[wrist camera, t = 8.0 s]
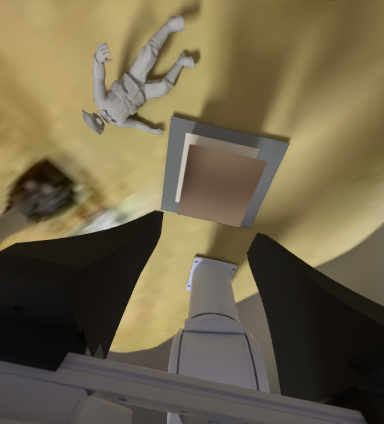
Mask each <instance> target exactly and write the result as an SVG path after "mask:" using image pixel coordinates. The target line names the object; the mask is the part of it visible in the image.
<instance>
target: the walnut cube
mask: <svg viewBox="0 0 384 424" xmlns="http://www.w3.org/2000/svg"><path fill="white" fill-rule="evenodd" d="M267 162H268V161H263V160H259V159H254V158H250V157H245V156H241V155H237V154H232V153H228V152H223V151H219V150H214V149H210V148H206V147H201V146H197V145H192V144H189V149H188V155H187V161H186V167H185V172H184V178H183V184H182V190H181V196H180V201H179V207H178V213H177V214H179V215H184V216H189V217H193V218H198V219H202V220H207V221H212V222H216V223H221V224H225V225H230V226H235V227H240V225H241V223H242V220H243V218H244V216H245V213H246V211H247V209H248V206H249V204H250V201H251V199H252V197H253V194H254V192H255V190H256V187H257V185H258V183H259V180H260V178H261V176H262V173H263V171H264V169H265V166H266V164H267Z"/></svg>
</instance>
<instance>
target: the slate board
mask: <svg viewBox="0 0 384 424" xmlns="http://www.w3.org/2000/svg"><path fill="white" fill-rule="evenodd" d="M186 133H190V134H194V135H199V136H203V137H208V138H212V139H216V140H221V141H225V142H230V143H234V144H238V145H243V146H247V147H252V148H256V149H259V152H258V155H257V157H256V159H259V160H263V161H268V162H267V164H266V166H265V169H264V171H263V173H262V176H261V178H260V180H259V183H258V185H257V187H256V190H255V192H254V194H253V197H252V199H251V201H250V204H249V206H248V209H247V211H246V213H245V216H244V218H243V220H242V223H241V225H240V227H244V228H249V229H250V227H251V225H252V223H253V221H254V219H255V217H256V214H257V212H258V210H259V208H260V206H261V204H262V202H263V200H264V197H265V195H266V193H267V191H268V189H269V187H270V185H271V183H272V180H273V178H274V176H275V174H276V172H277V170H278V168H279V166H280V163H281V161H282V159H283V157H284V155H285V153H286V151H287V148H288V146H289V144H290V143H286V142H282V141H277V140H273V139H269V138H264V137H260V136H256V135H251V134H247V133H242V132H238V131H234V130H229V129H225V128H221V127H216V126H212V125H208V124H203V123H199V122H194V121H190V120H186V119H181V118H177V117H173V116H171V122H170V131H169V141H168V150H167V159H166V168H165V177H164V186H163V195H162V204H161V210H166V211H170V212H175V213H178V207H179V202H175V200H176V193H177V187H178V181H179V174H180V168H181V162H182V155H183V149H184V143H185V136H186Z"/></svg>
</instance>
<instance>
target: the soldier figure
mask: <svg viewBox="0 0 384 424" xmlns="http://www.w3.org/2000/svg"><path fill="white" fill-rule="evenodd" d="M183 30H185V25H184V20H183V18H182V16H181V15H179V16H177V17H176V18H175V17H174V16H173V15H172V16H171V17H169V19H168V21H167V23H166V24H165V25H164V26H162V27H161V28H160V30H159V31H158V32H156V33H155V34H154V35H153V36H152V37H151V39H150V40H149V41H148V43H147V44H146V45H145V46H144V47H142V48H141V49H140V51H139V54H138V57H137V59H136V60H135V62H134V63H133V65H132V66H131V69H130V71H129V73H127V72H125V73H124V75H123V76H122V78H121V79H120V81H119V82H118V81H117V80H115V81H114V82H113V84H112V85H111V86H110V87H111V88H112V89H113V90H109V91H107V92H106V87H105V76H106V73H105V66H104V62H110V61H112V59H107V58H106V56H108V55H110V52H107V51H109V48H107V47H108V45H106V43H102V44H100V45H99V46H98V47H97V51H96V53H95V54H94V62H93V71H92V73H93V85H94V88H93V91H94V99H93V100H94V102H95V103H96V105H97V107H98V108H99V110H100V111H99V115H100V116H101V117H102V118H103V119H104V120H105V121H106V122H107V123H113V124H114V125H116V126H117V127H118V128H120V127H123V128H137V129H139V130H143V131H146V132H149V133H154V134H163V132H161V131H162V130H160V128H159V129H154V128H151V127H150V126H148V125H146V124H144V123H142V122H140V121H137V120H135V119H131V118H127V117H128V116H129V115H133V114H135V113H136V112H137V111H138V110H137V109H138V108H139V106H141V104H143V103H144V102H145V101H144V100H148V99H152V98H158V97H160V96H163V95H166V94H168V92H169V90H171V89H172V88H173V87H174V82H175V80H176V78H177V76H178V74H179V72H180V71H181V68H182V67H183V66H184V67H189V68H191V69H192V68H195V65H194V60H193V58H192V57H191V56H190V57H186V54H185V53H184V52H182V53H181V54H180V56H179V57H178V60H177V61H176V63H175V64H174V66H173V67H172V68H171V70H170V71H169V72H168V73H167V75H166V76H165V77H163V80H162V79H158V80H156V79H155V80H146V79H147V75H148V73H149V70H150V69H151V68H152V67H153V65H154V64H155V62H156V60H157V55H158V54H159V51H160V49H161V48H162V46H163V44H164V42H165V40H166V38H167V37H168V35H169V34H170V33H172V32H176V31H177V32H182V31H183ZM104 48H106V49H104ZM104 52H107V53H104ZM82 112H83V118H84V121H85V123H86V124H87V125H88V126H89V128H91V129H92V130H93V131H94V132H96V133H98V134H99V135H100V134H101V133H102V132H103V131H104V127H105V125H104V122H103V121H102V119H101V118H100V117H99V116H98V115H97V113H96V114H95V113H92V114H89V113H87V112H85V111H84V110H82Z"/></svg>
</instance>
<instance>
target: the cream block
mask: <svg viewBox="0 0 384 424" xmlns="http://www.w3.org/2000/svg"><path fill="white" fill-rule="evenodd" d="M189 144H192V145H197V146H201V147H206V148H210V149H214V150H219V151H223V152H228V153H232V154H237V155H241V156H245V157H250V158H254V159H256V157H257V155H258V152H259V149H256V148H252V147H247V146H243V145H238V144H234V143H230V142H225V141H221V140H216V139H212V138H208V137H203V136H199V135H194V134H190V133H186V136H185V143H184V149H183V155H182V162H181V168H180V174H179V181H178V187H177V193H176V200H175V202H179V201H180V196H181V190H182V184H183V178H184V172H185V167H186V161H187V155H188V149H189Z"/></svg>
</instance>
